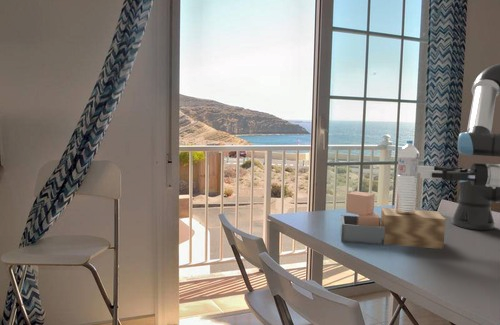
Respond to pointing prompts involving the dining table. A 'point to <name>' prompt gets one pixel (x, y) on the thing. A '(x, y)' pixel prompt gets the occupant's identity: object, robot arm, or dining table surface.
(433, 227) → the zigzag patterned block
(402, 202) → the water bottle
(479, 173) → the robot arm
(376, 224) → the pink block
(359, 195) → the salmon pink cube
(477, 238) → the dining table surface
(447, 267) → the dining table surface
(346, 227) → the tray
